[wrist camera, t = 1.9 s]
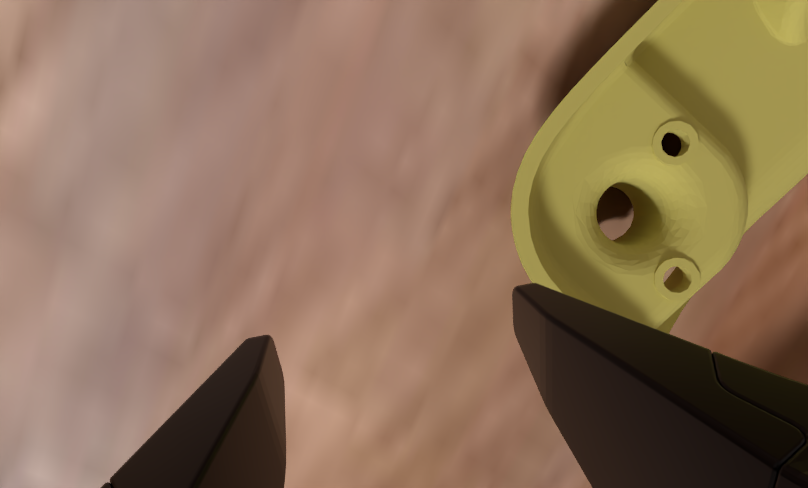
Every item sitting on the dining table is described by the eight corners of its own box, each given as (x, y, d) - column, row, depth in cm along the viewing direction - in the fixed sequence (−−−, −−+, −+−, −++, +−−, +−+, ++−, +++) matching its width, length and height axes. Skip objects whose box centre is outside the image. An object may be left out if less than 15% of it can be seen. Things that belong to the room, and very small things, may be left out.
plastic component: (919, -264, 15) (1177, -38, 15) (768, -106, 22) (938, 48, 22) (451, 207, 17) (664, 416, 17) (454, 211, 25) (602, 357, 24)
